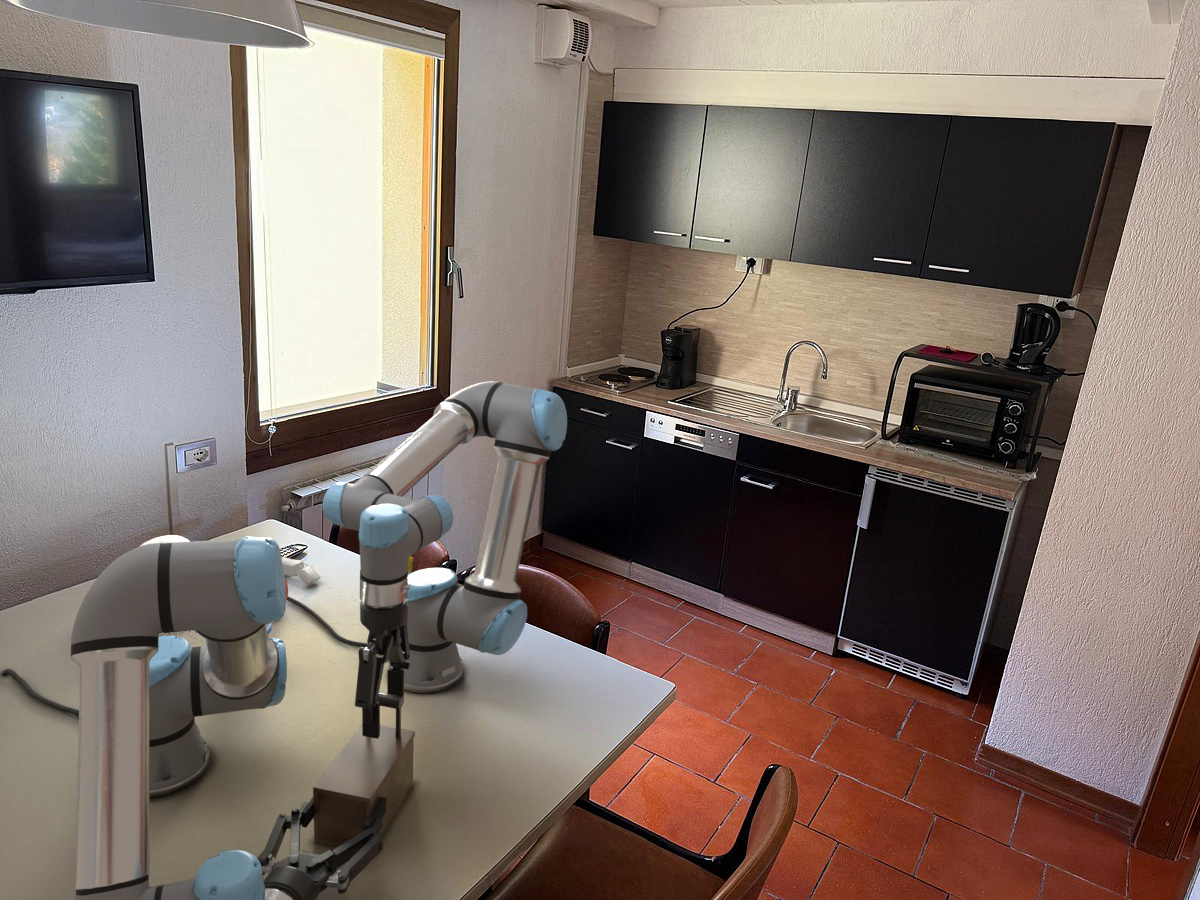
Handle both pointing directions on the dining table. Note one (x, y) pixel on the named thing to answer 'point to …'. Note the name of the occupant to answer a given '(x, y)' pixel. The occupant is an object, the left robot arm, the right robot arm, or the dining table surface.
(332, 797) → the chest
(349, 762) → the lid
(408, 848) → the dining table surface
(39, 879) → the dining table surface
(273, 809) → the dining table surface
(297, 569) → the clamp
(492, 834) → the dining table surface
